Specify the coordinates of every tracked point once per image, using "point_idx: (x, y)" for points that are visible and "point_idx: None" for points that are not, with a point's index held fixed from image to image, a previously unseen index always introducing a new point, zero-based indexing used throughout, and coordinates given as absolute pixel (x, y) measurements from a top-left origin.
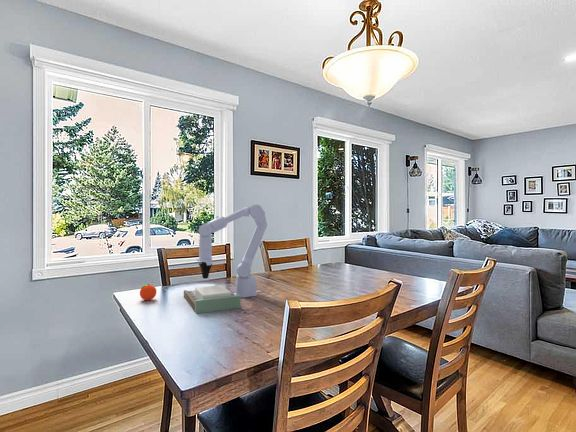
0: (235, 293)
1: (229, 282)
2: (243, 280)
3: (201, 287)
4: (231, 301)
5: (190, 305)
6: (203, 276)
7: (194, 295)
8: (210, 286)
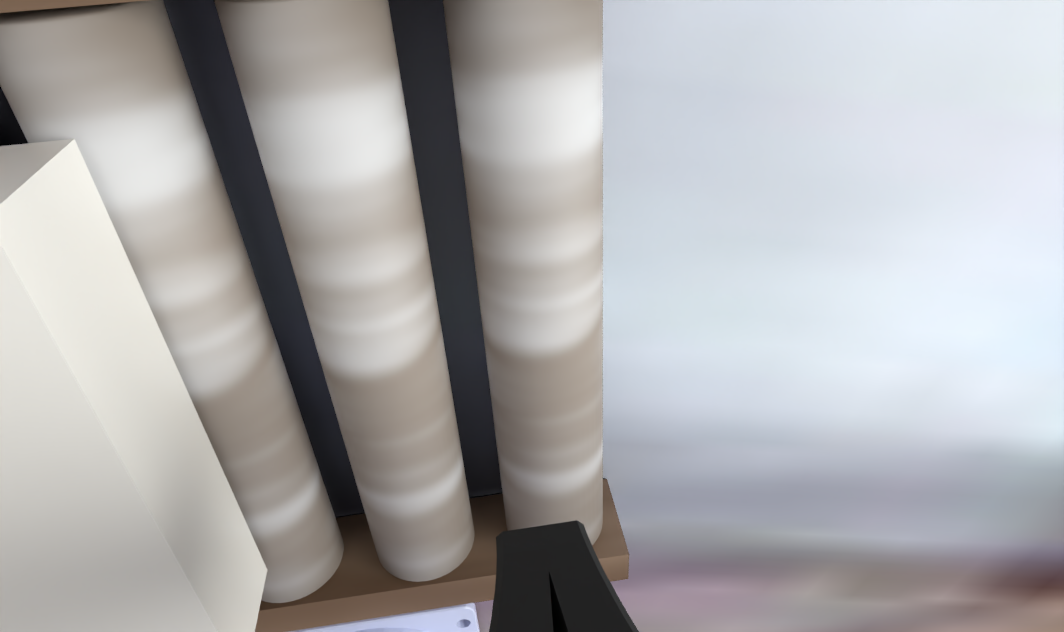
0: (439, 625)
1: (1037, 586)
2: None
3: (21, 369)
4: None
5: None
6: (499, 586)
7: (35, 109)
8: (137, 535)
